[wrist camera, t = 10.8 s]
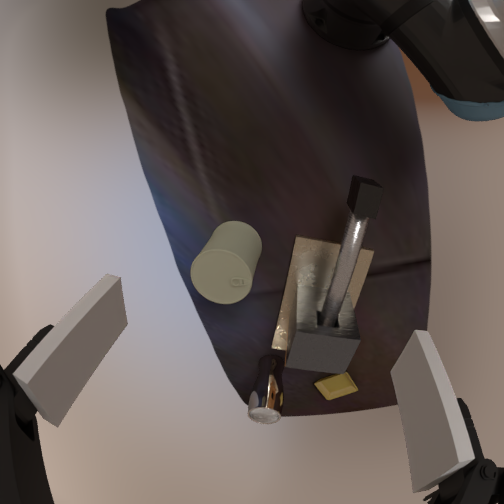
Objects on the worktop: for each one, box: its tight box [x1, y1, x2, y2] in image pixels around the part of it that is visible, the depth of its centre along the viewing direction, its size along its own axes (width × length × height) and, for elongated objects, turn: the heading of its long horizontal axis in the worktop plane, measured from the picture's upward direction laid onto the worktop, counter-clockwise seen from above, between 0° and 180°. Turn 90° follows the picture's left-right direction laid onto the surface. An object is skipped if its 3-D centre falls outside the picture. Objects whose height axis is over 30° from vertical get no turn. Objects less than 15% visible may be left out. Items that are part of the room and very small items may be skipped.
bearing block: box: [271, 234, 374, 374], centre depth 48 cm, size 26×14×14 cm, turn 173°
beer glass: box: [248, 355, 285, 424], centre depth 56 cm, size 7×7×15 cm
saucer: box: [314, 372, 358, 400], centre depth 63 cm, size 9×9×2 cm
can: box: [191, 221, 262, 304], centre depth 46 cm, size 9×9×12 cm
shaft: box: [317, 175, 384, 327], centre depth 39 cm, size 27×3×5 cm, turn 173°
